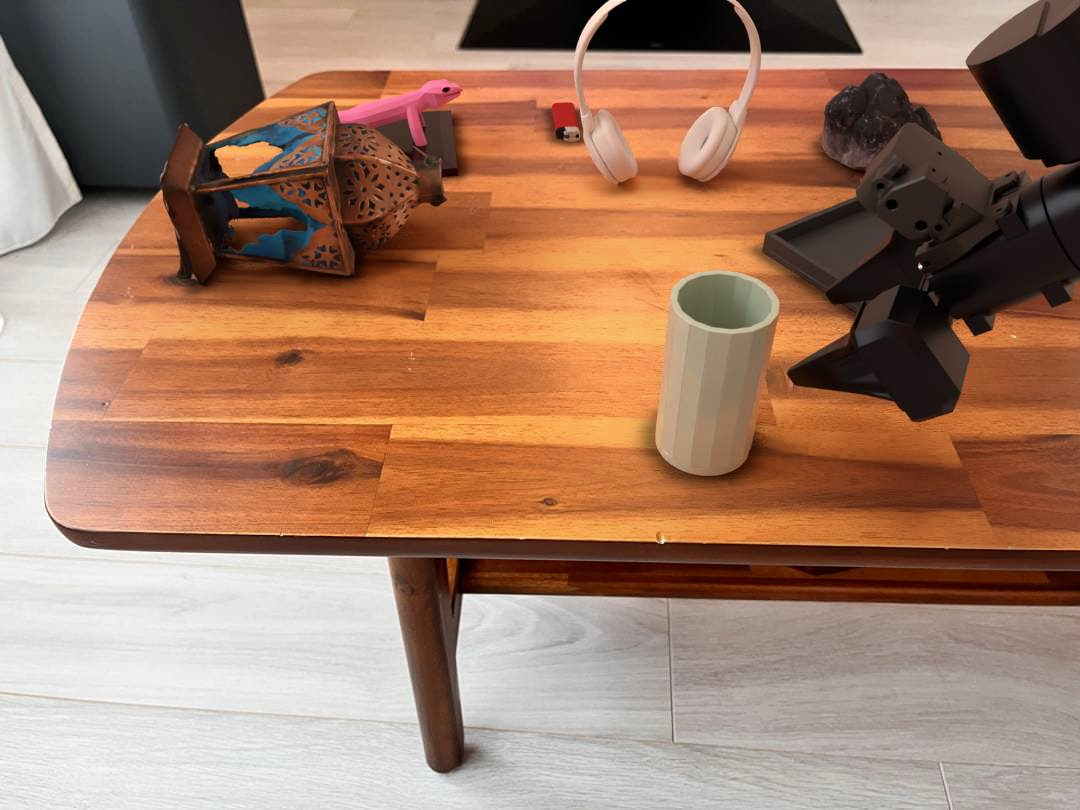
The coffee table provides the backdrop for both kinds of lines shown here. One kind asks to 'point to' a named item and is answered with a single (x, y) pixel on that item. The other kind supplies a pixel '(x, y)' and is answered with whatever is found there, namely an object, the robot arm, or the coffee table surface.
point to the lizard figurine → (414, 122)
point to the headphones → (705, 139)
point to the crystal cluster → (869, 120)
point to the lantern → (296, 193)
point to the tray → (827, 243)
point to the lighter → (565, 121)
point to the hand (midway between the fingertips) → (810, 335)
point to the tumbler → (714, 370)
